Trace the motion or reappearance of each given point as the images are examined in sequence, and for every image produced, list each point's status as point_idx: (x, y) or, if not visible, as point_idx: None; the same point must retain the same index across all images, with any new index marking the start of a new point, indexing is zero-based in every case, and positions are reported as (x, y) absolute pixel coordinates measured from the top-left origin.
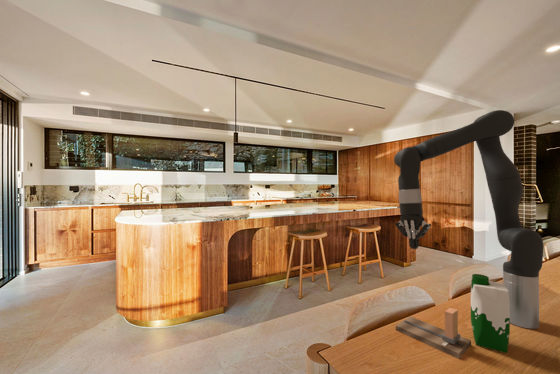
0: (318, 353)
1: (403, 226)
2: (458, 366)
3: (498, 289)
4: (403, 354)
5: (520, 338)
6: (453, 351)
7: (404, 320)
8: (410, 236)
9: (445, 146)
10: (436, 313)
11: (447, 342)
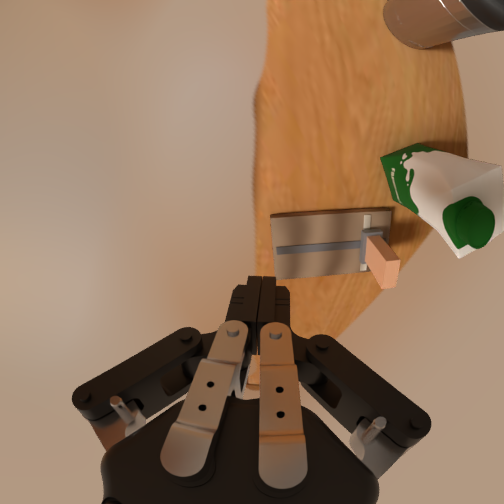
0: (250, 384)
1: (132, 393)
2: None
3: (493, 236)
4: (321, 319)
5: (431, 103)
6: None
7: (273, 247)
8: (247, 370)
9: None
10: (286, 119)
11: None
